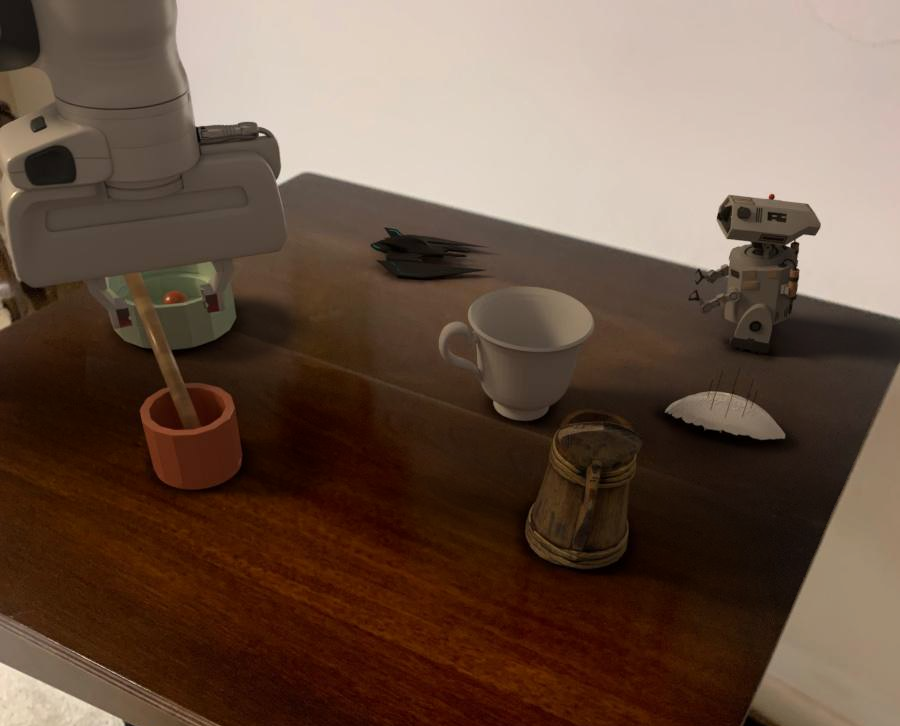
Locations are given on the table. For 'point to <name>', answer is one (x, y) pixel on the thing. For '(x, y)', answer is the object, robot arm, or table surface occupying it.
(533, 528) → the wooden mug
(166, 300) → the bead
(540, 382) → the teacup
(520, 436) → the table surface
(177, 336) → the bowl
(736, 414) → the pincushion
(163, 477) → the holder
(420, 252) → the black starfighter
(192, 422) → the stirring stick
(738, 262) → the figurine
